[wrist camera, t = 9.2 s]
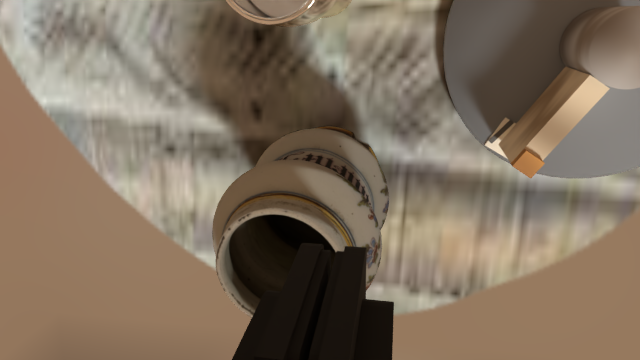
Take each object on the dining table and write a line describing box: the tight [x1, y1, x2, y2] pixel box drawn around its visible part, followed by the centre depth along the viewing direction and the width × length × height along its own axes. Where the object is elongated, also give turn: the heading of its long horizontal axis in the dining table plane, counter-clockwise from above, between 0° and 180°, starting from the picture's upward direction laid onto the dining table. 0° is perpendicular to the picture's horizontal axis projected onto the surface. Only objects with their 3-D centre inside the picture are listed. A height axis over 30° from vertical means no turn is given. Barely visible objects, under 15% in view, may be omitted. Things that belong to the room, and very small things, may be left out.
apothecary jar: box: [212, 126, 389, 318], centre depth 34 cm, size 12×12×18 cm
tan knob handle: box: [498, 6, 640, 178], centre depth 31 cm, size 12×5×6 cm, turn 148°
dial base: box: [443, 0, 640, 178], centre depth 33 cm, size 22×22×2 cm
